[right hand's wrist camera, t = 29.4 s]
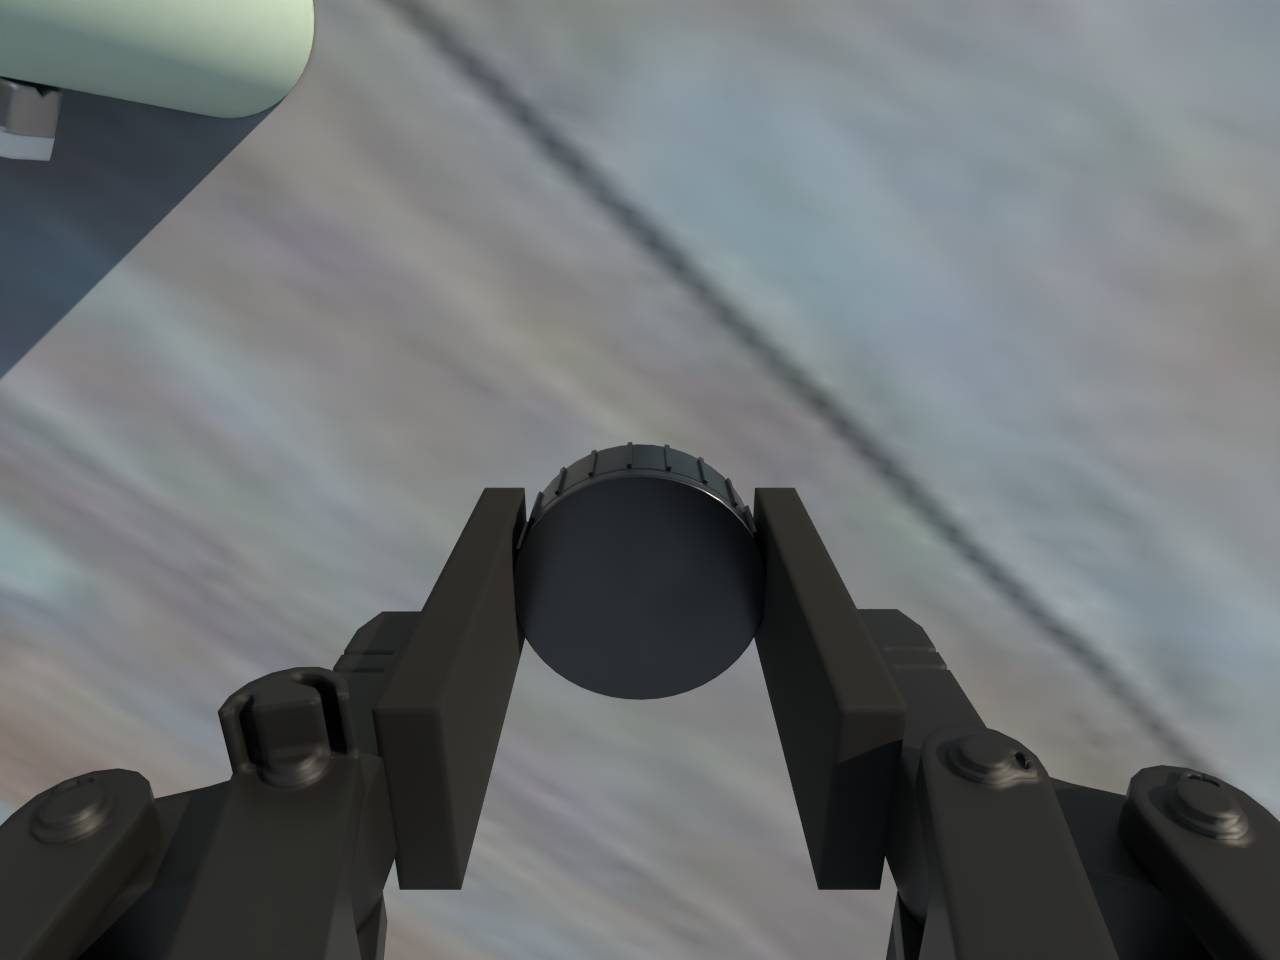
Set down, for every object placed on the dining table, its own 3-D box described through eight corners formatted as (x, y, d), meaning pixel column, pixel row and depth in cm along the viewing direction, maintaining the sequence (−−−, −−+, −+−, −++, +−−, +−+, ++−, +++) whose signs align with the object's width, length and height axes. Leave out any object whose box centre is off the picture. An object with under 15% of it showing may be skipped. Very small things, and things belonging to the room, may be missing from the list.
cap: (701, 678, 16) (708, 732, 14) (492, 609, 15) (475, 657, 14) (796, 490, 14) (815, 527, 13) (567, 405, 14) (558, 433, 12)
